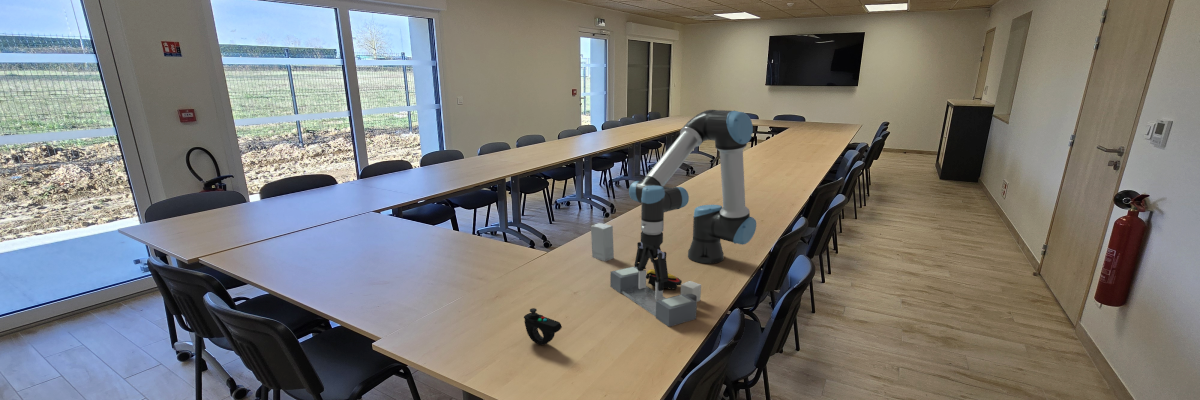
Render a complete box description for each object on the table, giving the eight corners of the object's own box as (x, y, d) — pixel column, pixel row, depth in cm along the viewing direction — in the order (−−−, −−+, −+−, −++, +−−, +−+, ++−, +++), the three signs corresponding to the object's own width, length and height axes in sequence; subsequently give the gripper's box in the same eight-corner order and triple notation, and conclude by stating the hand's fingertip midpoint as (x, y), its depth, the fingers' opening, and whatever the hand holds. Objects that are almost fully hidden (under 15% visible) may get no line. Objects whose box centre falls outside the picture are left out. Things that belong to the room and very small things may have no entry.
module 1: (634, 280, 194) (635, 265, 193) (645, 287, 188) (645, 271, 187) (610, 286, 189) (610, 270, 187) (620, 293, 183) (620, 277, 182)
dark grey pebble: (690, 306, 173) (691, 293, 172) (698, 311, 169) (699, 297, 168) (681, 309, 171) (682, 295, 170) (689, 313, 167) (689, 299, 166)
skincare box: (614, 258, 218) (614, 225, 214) (604, 262, 214) (604, 228, 210) (600, 254, 224) (600, 221, 220) (590, 257, 219) (590, 224, 216)
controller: (531, 334, 154) (530, 304, 151) (564, 346, 147) (563, 315, 145) (522, 340, 150) (521, 310, 148) (554, 353, 144) (554, 320, 141)
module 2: (682, 310, 170) (683, 293, 168) (695, 318, 164) (696, 301, 162) (655, 317, 164) (656, 300, 163) (668, 326, 158) (669, 308, 157)
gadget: (678, 294, 185) (682, 280, 183) (643, 285, 186) (647, 271, 185) (679, 288, 191) (682, 274, 189) (645, 279, 192) (648, 265, 191)
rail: (636, 282, 192) (636, 279, 192) (690, 316, 165) (690, 313, 165) (614, 288, 187) (614, 285, 187) (666, 323, 160) (666, 320, 160)
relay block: (688, 296, 181) (689, 280, 180) (700, 300, 177) (701, 284, 176) (680, 300, 178) (680, 284, 176) (691, 304, 174) (692, 288, 173)
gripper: (625, 225, 178) (624, 284, 183) (662, 242, 159) (660, 307, 164) (642, 222, 181) (641, 280, 187) (681, 238, 163) (678, 302, 168)
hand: (650, 293), depth 176 cm, fingers open, 9 cm apart
